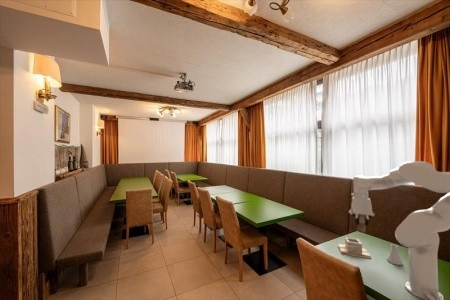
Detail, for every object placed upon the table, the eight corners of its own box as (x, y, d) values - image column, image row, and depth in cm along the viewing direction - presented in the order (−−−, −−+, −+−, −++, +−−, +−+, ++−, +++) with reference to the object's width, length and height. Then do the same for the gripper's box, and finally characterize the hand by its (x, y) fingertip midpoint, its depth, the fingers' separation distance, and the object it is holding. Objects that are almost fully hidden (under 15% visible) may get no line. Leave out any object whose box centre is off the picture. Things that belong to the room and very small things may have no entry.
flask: (405, 266, 111) (405, 249, 112) (391, 264, 113) (391, 247, 113) (397, 259, 119) (397, 243, 119) (384, 258, 120) (383, 242, 120)
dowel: (366, 233, 117) (366, 213, 118) (358, 232, 119) (358, 212, 119) (364, 230, 121) (364, 211, 122) (357, 229, 123) (356, 211, 123)
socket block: (370, 258, 120) (370, 246, 120) (341, 253, 125) (341, 242, 126) (364, 249, 131) (364, 238, 131) (337, 245, 137) (337, 235, 137)
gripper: (347, 195, 120) (347, 225, 120) (379, 197, 114) (380, 228, 114) (344, 193, 127) (344, 221, 127) (374, 195, 121) (375, 224, 121)
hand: (361, 224), depth 120 cm, fingers closed on dowel, 4 cm apart
